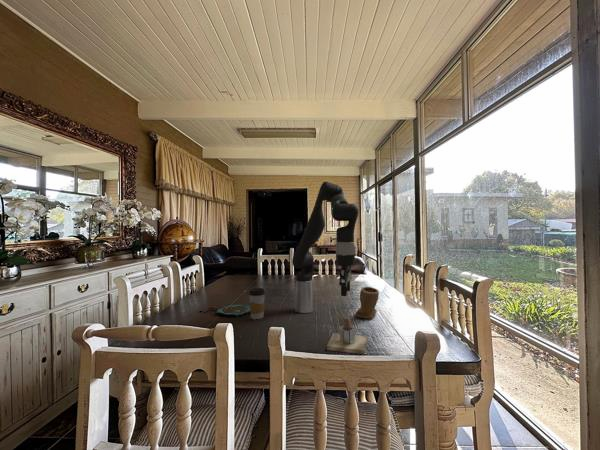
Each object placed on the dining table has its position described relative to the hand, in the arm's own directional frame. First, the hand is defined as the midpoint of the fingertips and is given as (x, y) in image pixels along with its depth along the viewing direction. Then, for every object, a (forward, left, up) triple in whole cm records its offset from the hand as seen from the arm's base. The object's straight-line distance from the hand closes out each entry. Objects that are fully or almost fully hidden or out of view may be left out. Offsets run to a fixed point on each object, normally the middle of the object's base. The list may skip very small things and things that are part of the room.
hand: (345, 293), depth 116 cm
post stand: (+1, -1, -20) cm, 20 cm away
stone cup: (+6, +39, -21) cm, 45 cm away
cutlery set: (-71, +28, -21) cm, 79 cm away
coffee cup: (-49, +20, -21) cm, 57 cm away
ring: (+1, -1, -19) cm, 19 cm away
